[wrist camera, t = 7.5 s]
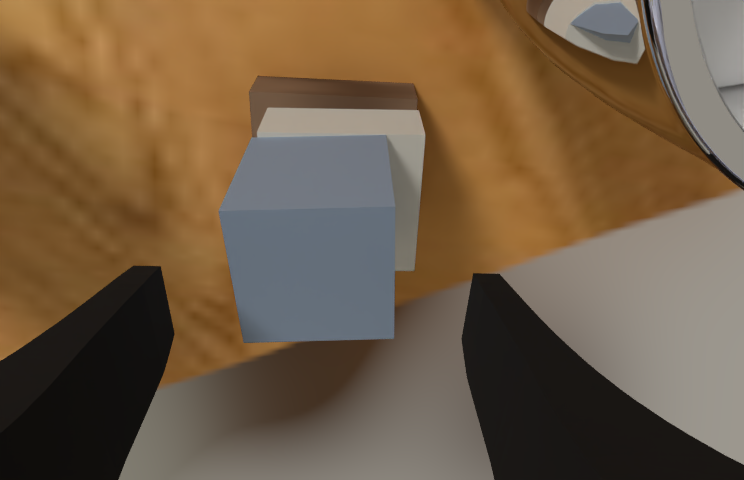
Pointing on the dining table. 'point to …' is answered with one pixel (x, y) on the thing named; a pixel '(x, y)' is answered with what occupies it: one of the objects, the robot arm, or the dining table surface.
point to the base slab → (327, 95)
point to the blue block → (312, 239)
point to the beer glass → (654, 65)
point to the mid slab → (402, 149)
